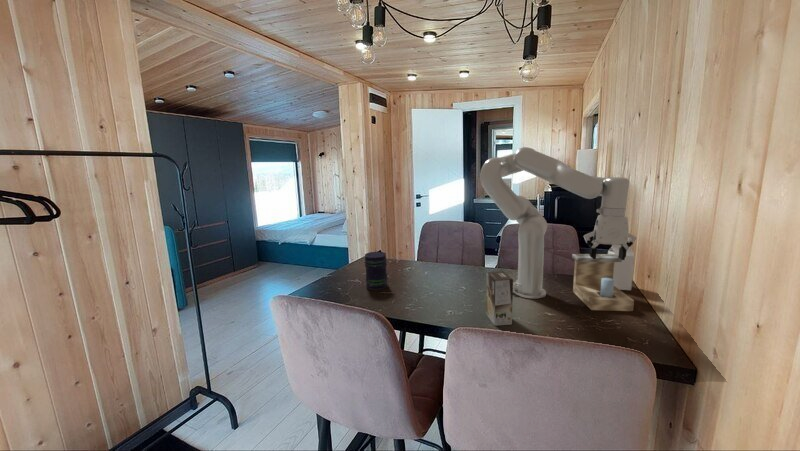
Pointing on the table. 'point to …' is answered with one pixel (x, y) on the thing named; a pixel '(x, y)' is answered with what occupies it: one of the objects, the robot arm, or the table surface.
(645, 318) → the table surface
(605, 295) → the peg
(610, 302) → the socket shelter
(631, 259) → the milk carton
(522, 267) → the robot arm
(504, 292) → the coffee box
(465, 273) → the table surface
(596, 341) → the table surface
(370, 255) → the storage jar
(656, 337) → the table surface
